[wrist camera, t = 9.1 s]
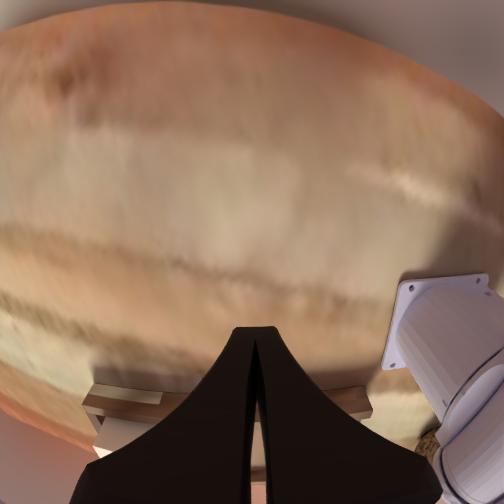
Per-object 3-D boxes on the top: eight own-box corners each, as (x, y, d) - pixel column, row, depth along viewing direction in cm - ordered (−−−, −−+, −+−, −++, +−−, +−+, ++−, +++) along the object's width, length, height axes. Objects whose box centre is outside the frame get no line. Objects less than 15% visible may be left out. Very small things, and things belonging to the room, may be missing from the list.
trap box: (363, 385, 22) (373, 410, 19) (340, 456, 26) (344, 476, 23) (93, 383, 22) (81, 404, 19) (130, 453, 26) (123, 472, 23)
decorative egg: (462, 415, 25) (494, 469, 16) (428, 450, 27) (451, 503, 18) (430, 414, 24) (464, 479, 15) (393, 452, 26) (415, 514, 17)
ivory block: (171, 421, 22) (161, 462, 17) (179, 455, 23) (172, 491, 19) (109, 409, 21) (92, 445, 17) (124, 444, 23) (112, 477, 19)
